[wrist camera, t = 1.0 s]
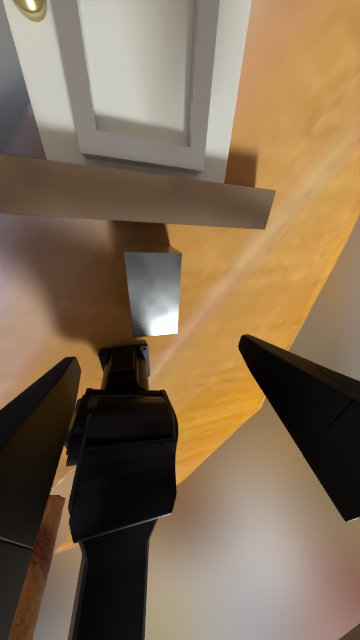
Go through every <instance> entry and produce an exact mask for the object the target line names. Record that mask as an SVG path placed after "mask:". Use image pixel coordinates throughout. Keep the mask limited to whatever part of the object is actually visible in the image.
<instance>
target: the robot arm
mask: <svg viewBox="0 0 360 640" xmlns="http://www.w3.org/2000/svg"><path fill="white" fill-rule="evenodd" d="M144 347H146V348H144ZM238 348H239V351H240V353H241V355H242V357H243V359H244V361H245V363H246V365H247V367H248V368H249V370H250V372H251V374H252V375H253V377H254V378H255V380H256V382H257V383H258V385H259V386H260V388H261V390H262V391H263V393H264V394H265V396H266V397H267V399H268V401H269V402H270V403H271V405H272V407H273V408H274V410H275V412H276V413H277V415H278V416H279V418H280V420H281V421H282V423H283V424H284V426H285V427H286V429H287V430H288V432H289V434H290V435H291V437H292V438H293V440H294V442H295V443H296V445H297V446H298V448H299V450H300V451H301V452H302V454H303V456H304V458H305V459H306V461H307V462H308V464H309V466H310V467H311V469H312V470H313V472H314V473H315V475H316V476H317V478H318V480H319V481H320V483H321V485H322V486H323V488H324V489H325V491H326V492H327V494H328V496H329V497H330V499H331V500H332V502H333V503H334V505H335V507H336V508H337V510H338V511H339V513H340V514H341V516H342V517H343V519H344V520H345V521H346V522H349V521H352V520H354V519H357V518H360V381H358V380H355V379H353V378H350V377H347V376H345V375H343V374H340V373H338V372H335V371H332V370H330V369H328V368H325V367H323V366H321V365H319V364H316V363H314V362H312V361H309V360H307V359H304V358H302V357H300V356H298V355H295V354H293V353H290V352H288V351H286V350H284V349H281V348H279V347H277V346H275V345H272V344H270V343H268V342H265V341H263V340H261V339H258V338H256V337H254V336H251V335H249V334H247V335H242V336H241V339H240V342H239V345H238ZM101 352H103V353H101ZM98 355H99V359H100V362H101V366H102V369H103V373H104V374H103V379H102V384H101V389H93V388H87V390H86V393H85V395H83V396H82V398H80V399H78V400H77V403H76V399H77V393H78V387H79V381H80V375H81V368H80V366H79V363H78V360H77V358H76V357H74V356H73V357H66V358H64V359H63V360H61V361H60V362H59V363H58V364H57V365H55V366H54V367H53V368H52V369H50V370H49V371H48V372H47V373H45V374H44V375H43V376H42V377H40V378H39V379H38V380H37V381H36V382H34V383H33V384H32V385H31V386H29V387H28V388H27V389H26V390H24V391H23V392H22V393H21V394H19V395H18V396H17V397H16V398H14V399H13V400H12V401H11V402H10V403H8V404H7V405H6V406H5V407H3V408H2V409H1V410H0V640H8V637H9V633H10V630H11V626H12V623H13V619H14V616H15V612H16V609H17V606H18V602H19V599H20V595H21V592H22V588H23V585H24V581H25V578H26V574H27V571H28V568H29V564H30V561H31V557H32V554H33V548H34V546H35V543H36V539H37V536H38V532H39V529H40V526H41V522H42V519H43V515H44V512H45V508H46V505H47V501H48V498H49V495H50V491H51V488H52V484H53V481H54V477H55V474H56V470H57V467H58V464H59V460H60V457H61V453H62V450H63V446H65V447H66V449H67V451H66V455H68V458H67V463H66V466H73V465H77V467H76V472H75V476H74V481H73V485H72V490H71V495H70V499H69V505H68V509H69V514H70V519H69V525H70V530H71V535H72V540H73V543H78V542H79V545H80V548H81V551H82V560H81V565H80V572H79V577H78V583H77V589H76V595H75V600H74V606H73V612H72V618H71V624H70V630H69V635H68V640H144V638H145V616H146V595H147V572H148V552H149V540H150V537H151V534H152V532H153V529H154V527H155V525H156V523H157V520H158V518H160V517H163V516H167V515H170V514H171V513H172V510H173V507H174V503H175V499H176V475H175V454H176V446H177V441H178V422H177V417H176V414H175V412H174V409H173V407H172V405H171V403H170V400H169V398H168V396H167V394H166V391H165V390H160V391H159V390H149V383H148V377H149V376H150V367H149V351H148V345H147V344H141V345H132V346H123V347H114V348H106V349H100V350H99V352H98ZM75 404H76V407H75ZM74 408H75V410H74ZM73 412H74V413H73ZM72 415H73V416H72ZM339 640H360V624H358V625H357V626H356V627H355V628H353V629H352V630H351V631H349V632H348V633H347V634H345V635H344V636H343V637H341V638H340V639H339Z"/></svg>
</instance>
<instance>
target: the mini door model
mask: <svg viewBox="0 0 360 640" xmlns="http://www.w3.org/2000/svg"><path fill="white" fill-rule="evenodd" d="M251 1H252V0H3V2H4V6H5V10H6V13H7V17H8V21H9V24H10V28H11V32H12V35H13V39H14V43H15V46H16V50H17V54H18V57H19V61H20V65H21V68H22V72H23V75H24V79H25V82H26V86H27V90H28V93H29V97H30V101H31V105H32V108H33V112H34V116H35V119H36V123H37V127H38V130H39V134H40V138H41V141H42V145H43V148H44V152H45V156H46V159H47V160H51V161H59V162H66V163H74V164H81V165H89V166H97V167H104V168H112V169H119V170H127V171H134V172H142V173H149V174H157V175H164V176H172V177H179V178H187V179H194V180H202V181H209V182H217V183H224V181H225V174H226V167H227V161H228V154H229V147H230V141H231V134H232V127H233V121H234V114H235V107H236V101H237V94H238V87H239V81H240V74H241V67H242V61H243V54H244V47H245V41H246V34H247V27H248V21H249V14H250V7H251Z"/></svg>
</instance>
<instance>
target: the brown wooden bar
mask: <svg viewBox="0 0 360 640" xmlns="http://www.w3.org/2000/svg"><path fill="white" fill-rule="evenodd" d="M275 192H276V190H269V189H262V188H254V187H247V186H239V185H232V184H224V183H217V182H209V181H202V180H194V179H187V178H179V177H172V176H164V175H157V174H149V173H142V172H134V171H127V170H119V169H112V168H104V167H97V166H89V165H81V164H74V163H66V162H59V161H51V160H44V159H36V158H29V157H21V156H14V155H6V154H0V213H4V214H20V215H37V216H53V217H69V218H85V219H101V220H118V221H134V222H150V223H166V224H183V225H199V226H215V227H231V228H247V229H264V230H265V228H266V224H267V220H268V217H269V213H270V210H271V206H272V203H273V199H274V196H275Z"/></svg>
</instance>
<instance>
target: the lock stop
mask: <svg viewBox="0 0 360 640" xmlns="http://www.w3.org/2000/svg"><path fill="white" fill-rule="evenodd" d="M124 258H125V267H126V275H127V283H128V292H129V300H130V309H131V317H132V326H133V334H134V337H144V336H153V335H163V334H173V333H177V331H178V313H179V295H180V277H181V258H182V253H181V252H179V251H178V250H176V249H175V248H173V247H172V246H166V245H132V244H126V246H125V250H124Z"/></svg>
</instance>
